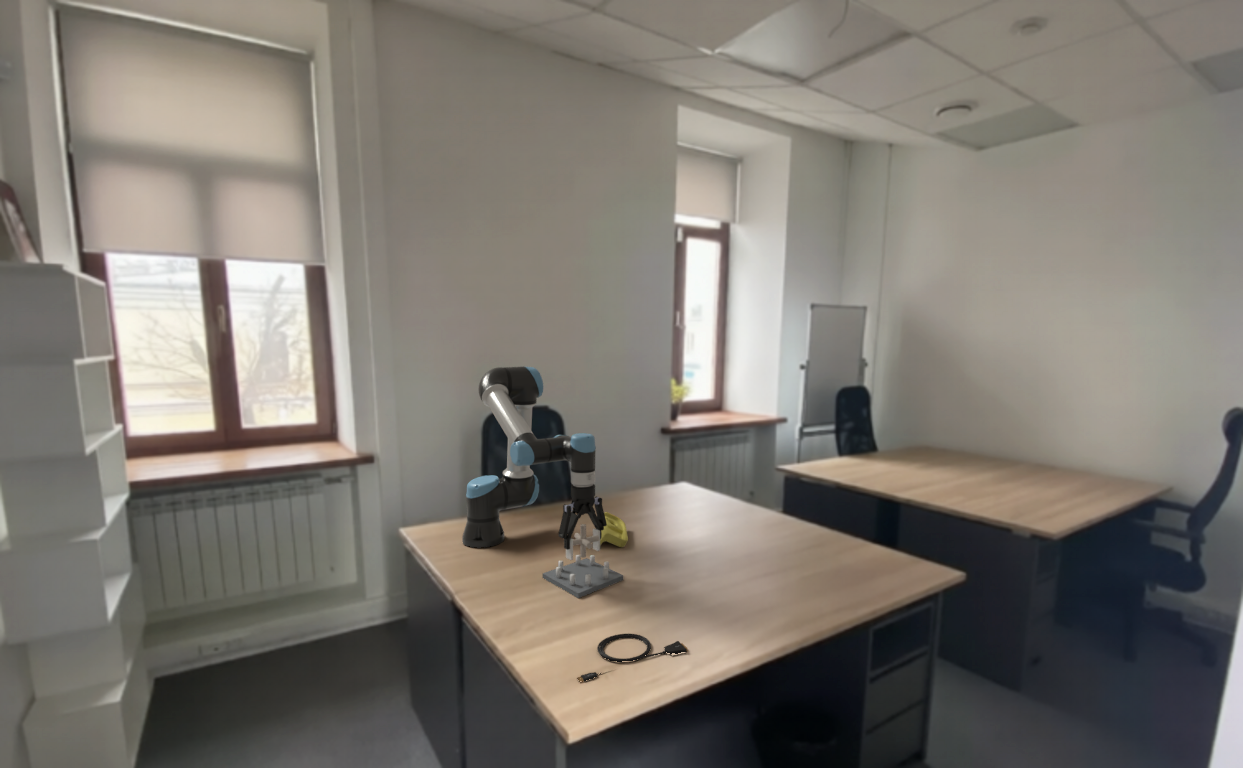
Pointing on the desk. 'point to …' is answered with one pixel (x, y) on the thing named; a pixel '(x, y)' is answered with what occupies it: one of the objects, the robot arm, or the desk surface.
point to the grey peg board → (582, 576)
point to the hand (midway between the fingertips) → (583, 554)
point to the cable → (671, 648)
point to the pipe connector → (584, 540)
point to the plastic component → (614, 531)
